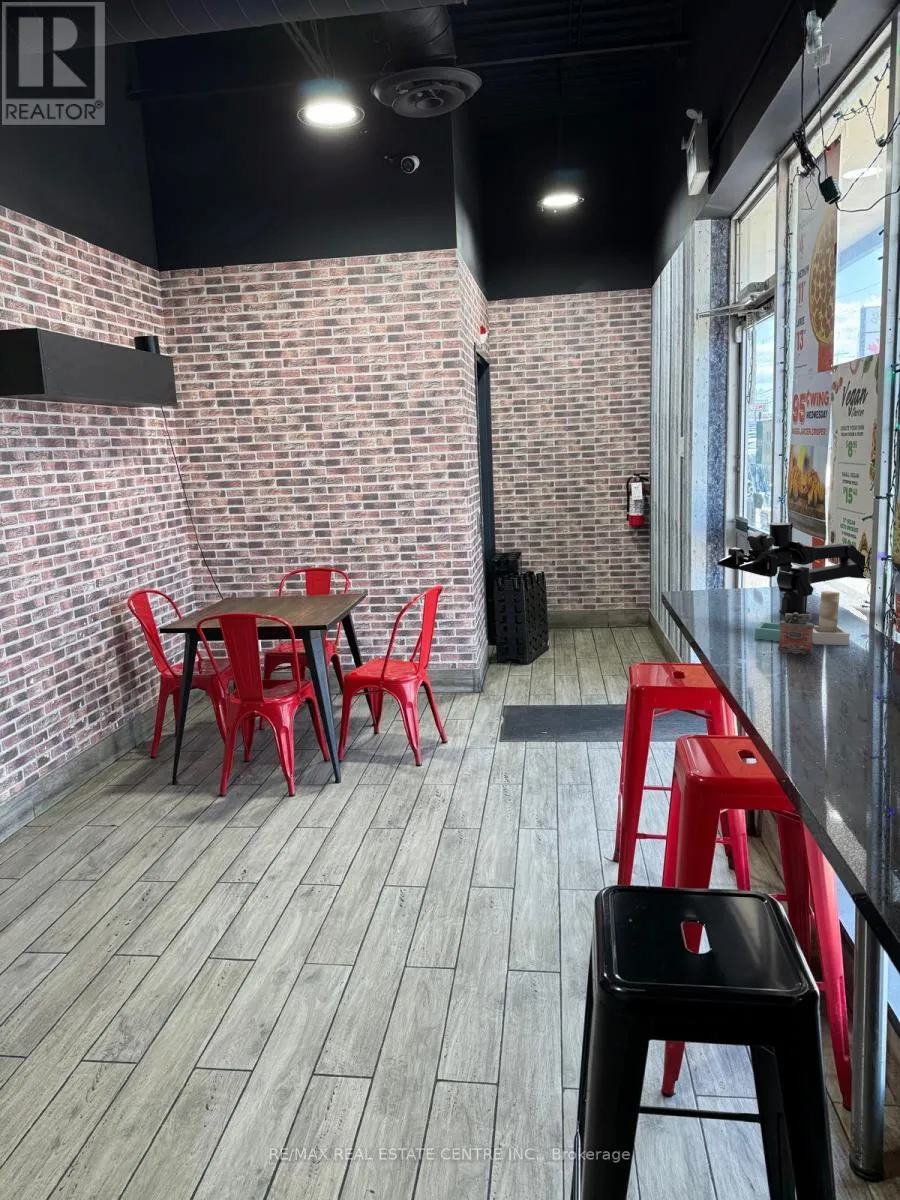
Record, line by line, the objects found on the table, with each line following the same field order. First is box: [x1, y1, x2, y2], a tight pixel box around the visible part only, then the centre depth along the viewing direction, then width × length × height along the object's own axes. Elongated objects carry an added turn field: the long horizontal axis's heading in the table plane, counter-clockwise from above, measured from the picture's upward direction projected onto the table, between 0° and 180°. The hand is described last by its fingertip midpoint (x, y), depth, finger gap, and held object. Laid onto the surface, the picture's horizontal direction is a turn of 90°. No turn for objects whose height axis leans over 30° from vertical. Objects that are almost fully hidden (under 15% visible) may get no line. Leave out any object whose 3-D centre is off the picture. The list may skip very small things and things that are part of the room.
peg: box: [818, 590, 841, 633], centre depth 219 cm, size 4×4×13 cm
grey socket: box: [812, 625, 851, 646], centre depth 220 cm, size 9×9×3 cm
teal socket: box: [754, 621, 780, 642], centre depth 224 cm, size 9×9×3 cm
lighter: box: [777, 612, 815, 655], centre depth 209 cm, size 8×3×10 cm, turn 62°
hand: (728, 565), depth 241 cm, fingers open, 9 cm apart
